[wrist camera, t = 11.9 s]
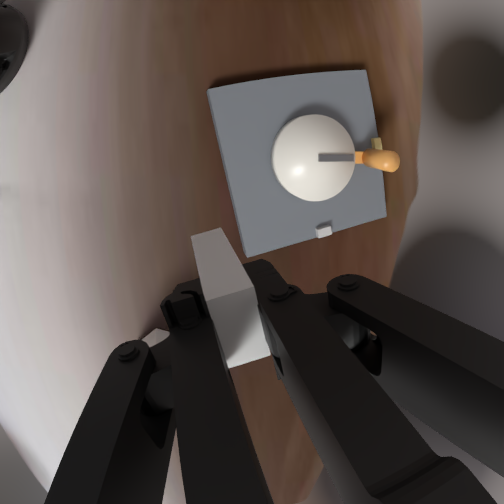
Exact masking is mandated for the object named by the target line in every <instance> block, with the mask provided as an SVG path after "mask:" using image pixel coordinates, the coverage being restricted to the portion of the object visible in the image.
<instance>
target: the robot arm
mask: <svg viewBox="0 0 504 504" xmlns="http://www.w3.org/2000/svg"><path fill="white" fill-rule="evenodd" d="M5 1H6V0H0V93H1V92H2V91H3V90H4V89H5V88H6V87H7V86H8V84H9V83H10V82H11V81H12V79H13V78H14V76H15V75H16V73H17V71H18V70H19V68H20V66H21V63H22V61H23V59H24V56H25V53H26V49H27V45H28V26H27V22H26V20H25V18H24V17H23V15H22V14H21V13H20V12H19V11H17V10H16V9H15V8H13V7H11V6H9V5H6V4H2V3H3V2H5ZM191 240H192V245H193V249H194V254H195V259H196V263H197V268H198V272H199V277H200V278H198V279H195V280H191V281H188V282H185V283H181V284H178V285H177V286H176V287H175V289H174V290H173V293H172V294H170V295H169V296H167V297H166V298H165V299H164V300H163V301H162V302H161V305H160V307H161V309H162V312H163V314H164V317H165V319H166V322H167V324H168V327H169V333H170V335H169V336H168V337H167V338H166V339H164V340H163V341H161V342H159V343H158V344H156V345H154V346H151V347H149V346H148V344H147V343H146V342H145V341H142V340H132V341H127V342H125V343H122V344H121V345H119V346H118V347H117V348H115V349H114V350H113V352H112V353H111V354H110V356H109V358H108V360H107V362H106V364H105V366H104V368H103V370H102V372H101V374H100V376H99V378H98V380H97V382H96V384H95V386H94V388H93V390H92V392H91V394H90V397H89V399H88V401H87V403H86V405H85V407H84V409H83V412H82V414H81V416H80V418H79V420H78V423H77V425H76V427H75V429H74V431H73V434H72V436H71V438H70V441H69V443H68V445H67V448H66V450H65V452H64V455H63V457H62V460H61V462H60V464H59V467H58V469H57V472H56V474H55V477H54V479H53V482H52V484H51V487H50V490H49V492H48V495H47V498H46V500H45V503H44V504H162V500H163V495H164V489H165V483H166V478H167V472H168V467H169V462H170V456H171V451H172V446H173V441H174V436H175V430H176V429H177V438H178V447H179V455H180V463H181V471H182V478H183V485H184V491H185V498H186V504H274V502H273V499H272V497H271V494H270V491H269V488H268V486H267V483H266V480H265V477H264V474H263V471H262V469H261V466H260V463H259V460H258V457H257V454H256V451H255V448H254V445H253V442H252V439H251V436H250V433H249V430H248V427H247V424H246V421H245V418H244V415H243V412H242V408H241V405H240V402H239V399H238V396H237V393H236V389H235V386H234V383H233V379H232V376H231V374H230V371H229V368H231V367H234V366H238V365H241V364H244V363H247V362H251V361H254V360H257V359H260V358H263V357H266V356H269V355H270V351H269V348H270V350H271V352H272V356H273V361H274V365H275V369H276V373H277V378H278V380H280V379H282V381H283V383H284V385H285V387H286V389H287V392H288V394H289V396H290V398H291V400H292V402H293V404H294V406H295V408H296V410H297V412H298V414H299V416H300V418H301V420H302V422H303V424H304V426H305V428H306V430H307V432H308V434H309V436H310V438H311V440H312V442H313V444H314V446H315V448H316V450H317V452H318V454H319V456H320V458H321V460H322V462H323V464H324V466H325V468H326V470H327V472H328V474H329V476H330V478H331V480H332V481H333V483H334V485H335V487H336V489H337V491H338V493H339V495H340V497H341V499H342V501H343V503H344V504H497V503H496V501H495V500H494V499H493V498H492V497H491V495H490V494H489V493H488V492H487V491H486V489H485V488H484V487H483V486H482V484H481V483H480V482H479V481H478V480H477V478H476V477H475V476H474V475H473V473H472V472H471V471H470V470H469V469H468V467H466V466H465V465H464V464H463V463H462V462H461V461H460V460H458V459H456V458H454V457H452V456H451V457H440V456H438V455H437V454H436V453H435V452H433V450H432V449H431V448H430V447H429V446H428V444H427V443H426V442H425V441H424V439H423V438H422V437H421V435H420V434H419V433H418V432H417V430H416V429H415V428H414V427H413V426H412V424H411V423H410V422H409V421H408V419H407V418H406V417H405V416H404V414H403V413H402V412H401V411H400V409H399V408H398V407H397V406H396V404H394V402H396V403H397V404H399V405H400V406H401V407H403V408H404V409H405V410H407V411H408V412H410V413H411V414H412V415H414V416H415V417H417V418H418V419H419V420H421V421H422V422H424V423H425V424H426V425H428V426H429V427H431V428H432V429H434V430H435V431H436V432H438V433H439V434H441V435H442V436H443V437H445V438H446V439H448V440H449V441H451V442H452V443H454V444H455V445H456V446H458V447H459V448H461V449H462V450H464V451H465V452H467V453H468V454H470V455H471V456H473V457H474V458H475V459H477V460H479V461H480V462H481V463H483V464H485V465H486V466H487V467H489V468H490V469H492V470H493V471H495V472H496V473H498V474H499V475H501V476H502V477H504V342H502V341H501V340H499V339H497V338H494V337H492V336H490V335H488V334H486V333H484V332H482V331H480V330H478V329H476V328H473V327H471V326H469V325H467V324H465V323H463V322H461V321H459V320H457V319H455V318H452V317H450V316H448V315H446V314H444V313H442V312H440V311H437V310H435V309H433V308H431V307H429V306H427V305H424V304H422V303H420V302H418V301H416V300H414V299H412V298H409V297H407V296H405V295H403V294H401V293H398V292H396V291H394V290H392V289H390V288H388V287H385V286H383V285H381V284H379V283H377V282H374V281H372V280H370V279H368V278H365V277H363V276H360V275H354V274H345V275H340V276H338V277H336V278H333V279H332V280H331V281H329V283H328V284H327V292H325V293H318V294H304V293H303V292H302V290H301V289H300V288H298V287H297V286H294V285H290V284H287V283H286V282H285V280H284V279H283V278H282V277H281V275H280V274H279V273H278V272H277V270H276V269H275V268H274V267H273V265H272V264H271V263H270V262H268V261H266V260H263V259H259V260H256V261H253V262H249V263H246V264H241V262H240V261H239V259H238V257H237V255H236V254H235V252H234V250H233V248H232V246H231V245H230V243H229V241H228V239H227V238H226V236H225V234H224V232H223V230H222V229H221V228H218V229H214V230H211V231H207V232H204V233H200V234H197V235H193V236H191ZM370 330H371V331H373V332H374V333H375V334H376V335H377V337H376V336H374V335H372V334H371V333H370ZM268 346H269V347H268ZM391 399H392V400H393V401H394V402H393V401H392V400H391Z"/></svg>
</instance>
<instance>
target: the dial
mask: <svg viewBox="0 0 504 504" xmlns="http://www.w3.org/2000/svg"><path fill="white" fill-rule="evenodd" d="M355 164H364V165H365V166H367V167H370V168H375V169H380V170H384V171H389V172H394V171H396V170H397V169H398V167H399V164H400V159H399V156H398V154H397V153H396V152H394V151H388V150H380V149H371V148H368V149H366V150H365V151H355V149H354V145H353V142H352V139H351V137H350V135H349V134H348V132H347V131H346V129H345V128H344V127H343V126H342V125H341V124H340V123H339V122H337V121H336V120H334V119H332V118H330V117H328V116H324V115H318V114H313V115H305V116H300V117H297V118H294V119H292V120H290V121H289V122H288V123H286V124H285V125H284V126H283V127H282V128H281V129H280V130H279V132H278V133H277V135H276V137H275V139H274V141H273V145H272V149H271V165H272V170H273V172H274V175H275V177H276V179H277V181H278V182H279V183H280V185H281V186H282V187H283V188H284V189H285V190H286V191H288V192H289V193H291V194H292V195H294V196H297V197H299V198H301V199H304V200H307V201H323V200H327V199H329V198H332V197H333V196H335V195H337V194H338V193H339V192H341V191H342V190H343V189H344V188H345V186H346V185H347V184H348V182H349V180H350V179H351V176H352V174H353V171H354V166H355Z"/></svg>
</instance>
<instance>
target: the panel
mask: <svg viewBox="0 0 504 504" xmlns="http://www.w3.org/2000/svg"><path fill="white" fill-rule="evenodd" d="M206 92H207V97H208V101H209V105H210V110H211V114H212V118H213V123H214V127H215V131H216V136H217V140H218V144H219V149H220V153H221V157H222V161H223V166H224V170H225V174H226V179H227V183H228V187H229V191H230V196H231V200H232V204H233V208H234V213H235V217H236V221H237V225H238V229H239V234H240V238H241V242H242V246H243V250H244V253H245V255H246V256H247V258H248V257H251V256H255V255H258V254H261V253H265V252H268V251H272V250H275V249H278V248H282V247H285V246H289V245H292V244H295V243H299V242H302V241H305V240H309V239H312V238H316V237H318V238H321V237H325V236H328V235H331V234H332V232H336V231H339V230H343V229H346V228H349V227H353V226H356V225H359V224H363V223H366V222H369V221H373V220H376V219H380V218H383V217H386V204H385V192H384V182H383V173H382V170H380V169H375V168H370V167H367V166H365V165H364V164H355V166H354V171H353V174H352V176H351V179H350V180H349V182H348V184H347V185H346V186H345V188H344V189H343V190H342V191H341V192H339V193H338V194H337V195H335V196H333V197H332V198H329V199H327V200H323V201H307V200H304V199H301V198H299V197H297V196H294V195H292V194H291V193H289V192H288V191H286V190H285V189H284V188H283V187H282V186H281V185H280V183H279V182H278V181H277V179H276V177H275V175H274V172H273V170H272V165H271V149H272V145H273V141H274V139H275V137H276V135H277V133H278V132H279V130H280V129H281V128H282V127H283V126H284V125H285V124H286V123H288V122H289V121H290V120H292V119H294V118H297V117H300V116H305V115H313V114H318V115H324V116H328V117H330V118H332V119H334V120H336V121H337V122H339V123H340V124H341V125H342V126H343V127H344V128H345V129H346V131H347V132H348V134H349V135H350V137H351V139H352V142H353V145H354V149H355V151H365V150H366V149H368V148H371V149H380V150H382V144H381V138H378V134H377V127H376V121H375V115H374V109H373V103H372V98H371V93H370V88H369V83H368V78H367V73H366V70H348V71H332V72H319V73H308V74H299V75H290V76H282V77H275V78H268V79H261V80H255V81H249V82H243V83H237V84H232V85H226V86H221V87H216V88H212V89H208V90H207V91H206Z"/></svg>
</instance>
